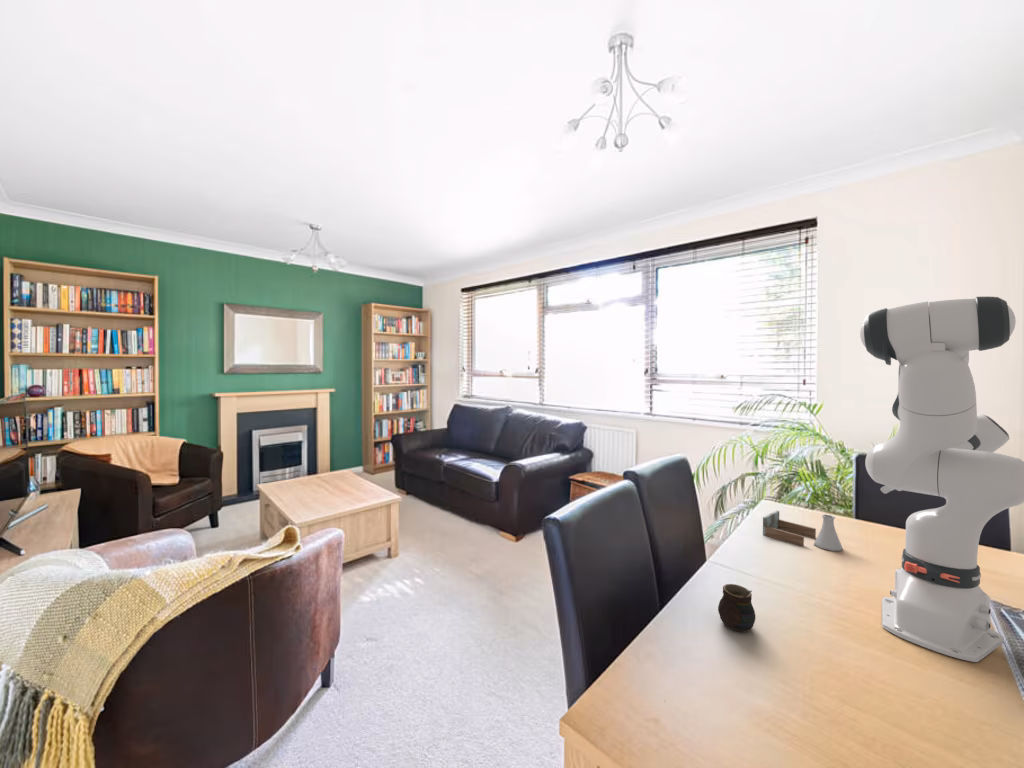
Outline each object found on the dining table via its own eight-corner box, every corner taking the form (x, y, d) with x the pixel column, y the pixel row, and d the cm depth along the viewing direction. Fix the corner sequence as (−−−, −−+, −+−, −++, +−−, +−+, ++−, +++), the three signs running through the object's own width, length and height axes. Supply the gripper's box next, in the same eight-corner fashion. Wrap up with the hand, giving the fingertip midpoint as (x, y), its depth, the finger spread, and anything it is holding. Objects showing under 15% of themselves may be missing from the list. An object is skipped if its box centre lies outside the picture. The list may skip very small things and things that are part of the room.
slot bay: (802, 546, 131) (803, 527, 131) (762, 534, 140) (763, 517, 140) (815, 537, 138) (815, 519, 138) (776, 527, 147) (776, 510, 147)
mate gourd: (733, 613, 94) (735, 570, 94) (764, 632, 87) (766, 587, 87) (710, 619, 92) (711, 576, 91) (740, 640, 85) (741, 593, 84)
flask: (808, 544, 132) (809, 514, 132) (821, 540, 135) (822, 510, 135) (834, 553, 126) (834, 521, 125) (847, 549, 129) (848, 517, 128)
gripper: (929, 448, 119) (883, 475, 127) (914, 457, 107) (865, 486, 115) (950, 466, 116) (903, 492, 124) (938, 477, 103) (886, 506, 111)
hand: (884, 489), depth 119 cm, fingers open, 4 cm apart
